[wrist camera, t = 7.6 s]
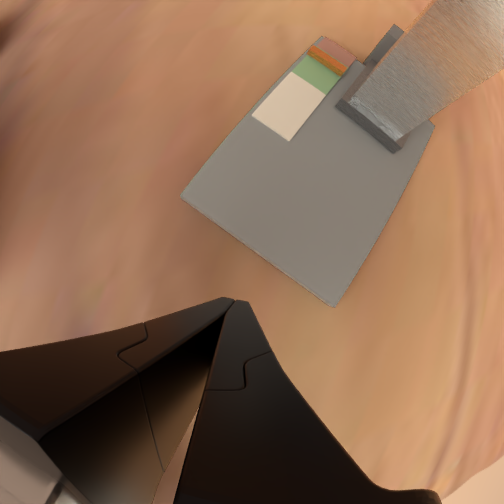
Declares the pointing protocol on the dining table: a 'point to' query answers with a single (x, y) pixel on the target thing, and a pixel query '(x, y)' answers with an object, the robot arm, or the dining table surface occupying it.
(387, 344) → the dining table surface
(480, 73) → the bar
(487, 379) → the dining table surface
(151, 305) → the dining table surface
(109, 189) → the dining table surface
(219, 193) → the gauge board
